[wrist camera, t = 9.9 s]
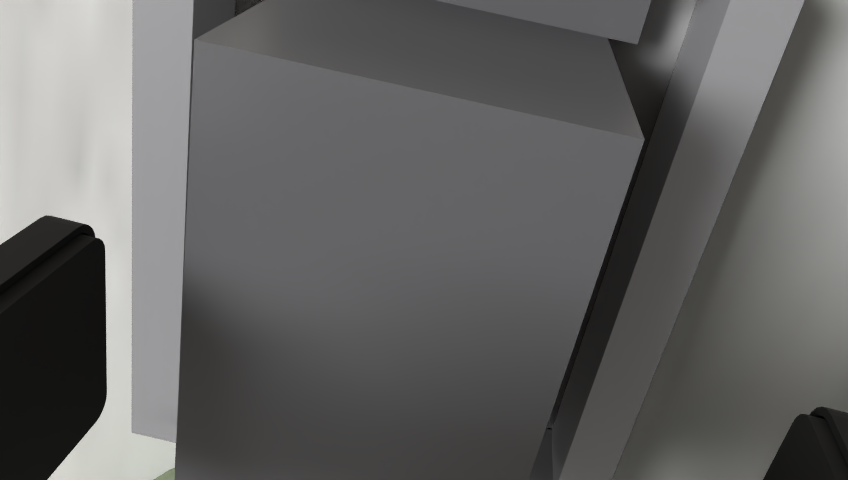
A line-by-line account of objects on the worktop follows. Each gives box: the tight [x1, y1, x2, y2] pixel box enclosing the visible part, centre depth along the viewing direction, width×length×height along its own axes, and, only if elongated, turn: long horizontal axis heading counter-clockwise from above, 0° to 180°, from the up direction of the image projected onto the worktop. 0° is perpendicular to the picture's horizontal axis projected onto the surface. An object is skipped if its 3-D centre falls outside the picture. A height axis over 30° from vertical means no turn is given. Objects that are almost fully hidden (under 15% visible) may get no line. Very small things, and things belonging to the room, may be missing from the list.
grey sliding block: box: [174, 0, 651, 480], centre depth 12 cm, size 6×10×6 cm, turn 170°
